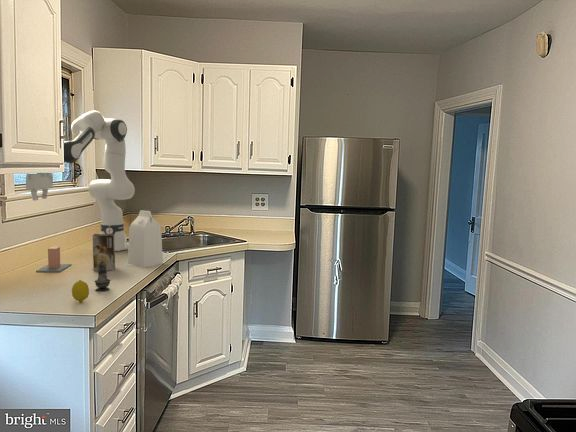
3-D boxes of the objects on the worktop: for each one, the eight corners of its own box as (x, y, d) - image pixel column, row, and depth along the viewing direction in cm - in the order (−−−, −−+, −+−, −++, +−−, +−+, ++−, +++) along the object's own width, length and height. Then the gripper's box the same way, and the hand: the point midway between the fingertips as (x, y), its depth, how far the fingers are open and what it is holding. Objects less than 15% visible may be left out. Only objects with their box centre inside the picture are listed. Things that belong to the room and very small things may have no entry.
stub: (52, 266, 211) (51, 246, 210) (60, 266, 212) (59, 246, 211) (48, 268, 207) (47, 248, 206) (56, 268, 207) (56, 248, 206)
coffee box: (115, 267, 216) (115, 233, 214) (114, 270, 210) (114, 235, 208) (94, 267, 214) (94, 233, 212) (92, 270, 207) (92, 235, 206)
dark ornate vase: (91, 291, 176) (90, 260, 174) (100, 287, 182) (99, 257, 180) (105, 292, 175) (104, 261, 173) (113, 288, 181) (113, 258, 179)
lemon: (89, 299, 166) (88, 277, 165) (89, 303, 161) (88, 281, 160) (72, 300, 163) (71, 278, 163) (71, 305, 158) (71, 282, 158)
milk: (163, 263, 227) (163, 211, 224) (144, 267, 217) (144, 212, 214) (146, 260, 233) (146, 209, 230) (127, 263, 224) (127, 210, 221)
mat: (49, 265, 216) (49, 263, 216) (71, 265, 217) (71, 264, 217) (36, 272, 202) (36, 270, 202) (60, 272, 203) (60, 270, 203)
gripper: (36, 169, 198) (37, 201, 199) (55, 168, 218) (55, 197, 219) (20, 169, 197) (22, 201, 198) (41, 168, 217) (42, 197, 219)
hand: (40, 199), depth 209 cm, fingers open, 8 cm apart
